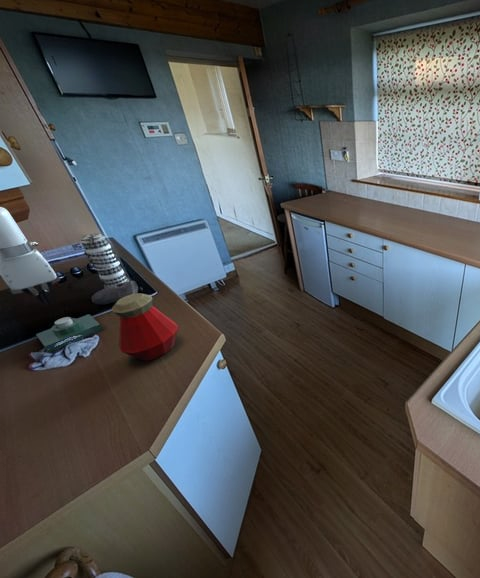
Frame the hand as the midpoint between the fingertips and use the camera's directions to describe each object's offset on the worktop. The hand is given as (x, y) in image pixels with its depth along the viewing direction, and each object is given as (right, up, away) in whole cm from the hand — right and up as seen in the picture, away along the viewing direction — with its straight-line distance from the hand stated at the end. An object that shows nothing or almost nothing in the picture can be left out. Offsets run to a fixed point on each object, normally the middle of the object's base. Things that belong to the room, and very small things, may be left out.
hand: (48, 302), depth 95 cm
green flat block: (0, -11, +7) cm, 13 cm away
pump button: (0, -8, +5) cm, 9 cm away
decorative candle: (-7, +4, +34) cm, 35 cm away
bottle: (+36, -16, 0) cm, 39 cm away
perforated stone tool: (0, 0, +26) cm, 26 cm away
